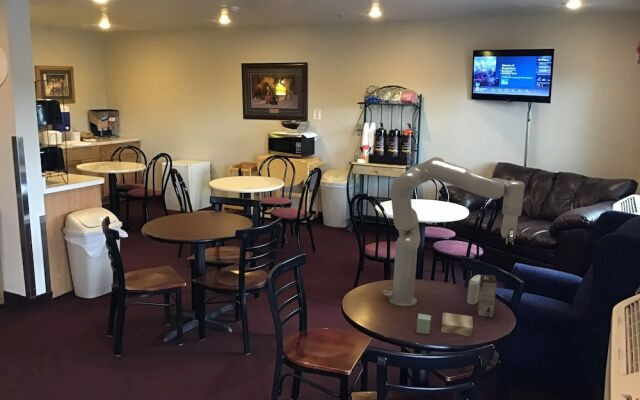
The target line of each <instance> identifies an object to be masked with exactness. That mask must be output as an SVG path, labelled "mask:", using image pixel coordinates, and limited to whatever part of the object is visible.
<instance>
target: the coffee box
mask: <svg viewBox="0 0 640 400" xmlns="http://www.w3.org/2000/svg"><path fill="white" fill-rule="evenodd" d="M480 275H481V276H480V285H479V295H478V303H476V306H477V314H478V316H480V317H487V316H489V317H488V318H493V317H494V309H495V301H496V293H497V283H498V282H497V278H496V275H494V274H493V275H492V274H480Z"/></svg>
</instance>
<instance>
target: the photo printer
mask: <svg viewBox="0 0 640 400" xmlns="http://www.w3.org/2000/svg"><path fill="white" fill-rule="evenodd" d="M480 276H481V274H477V275H474V276H473V277H472V278H471V279H469V282H468V288H467V295H466V296H467V298H466V303H467V304H468V305H471V306H473V305H477V304H478V295H479V285H480Z"/></svg>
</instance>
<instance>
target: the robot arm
mask: <svg viewBox="0 0 640 400" xmlns="http://www.w3.org/2000/svg"><path fill="white" fill-rule="evenodd" d="M430 180H436V181H439V182H442V183H445V184H449V185H451V186H454V187H458V188H460V189H462V190H464V191H467V192H470V193H473V194H475V195H477V196H481V197H484V198H487V199H491V200H498V199H501V198H502V197H503V201H502V209H501V210H502V211H501V214H503V217H502V218H503V219H502V224H501V230H500V234H501V237H502V244H501V247H502V248H504V251H503V253H504V254H510V255H511V254H513V250H514V239H516V234H517V227H518V221H519V220H518V219H519V217H520V216H521V215H522V210H523V202H524V196H525V195H524V194H525V186H526V185H525V183H524V182H523V181H522V180H521V181H520V180H516V179H515V180H508V179H503V178H500V177H499V178H497V177H492V178H487V177H483V176H480V175H478V174H476V173H474V172H472V170H470V169H468V168H466V167H464V166H460V165H457V164H455V163H451V162H447V161H445V160H444V159H443V158H441V157H437V156H434V157H432V158H429V159H428V160H426V161H423V162H421V163H419V164H416V165H415V166H412V167H411V168H408V169H407V170H406V171H404V172H402V174H400V175H399V176H398V177H397V178H396V179H395V180H394V181H393V182H392V184H391V188H390V200H391V208H392V219H393V225H394V227H395V228H396V229H397V231H398V234H399V236H398V238H397V240H396V241H395V244H394V245H395V246H394V269H393V270H394V271H393V281H392V289H391V290H387V289H386V290H385V289H383V290H382V295H384V296H385V297H388V302H389V303H390V304H392V305H394V306H398V307H405V308H406V307H413V306H415V305H417V302H418V300H417V299H416V297H414V296H415V295H414V294H415V283H416V272H417V271H416V270H417V260H418V259H417V256H418V255H417V254H418V249H419V246H420V243H421V233H420V225H419V216H418V213H417V211H416V210H415V209H414V208H413V206H412V198H411V192H412V191H413V190H415V189H417V188H418V187H419V186H420V185H423V184H424V183H427V182H429V181H430Z"/></svg>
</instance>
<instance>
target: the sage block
mask: <svg viewBox="0 0 640 400" xmlns="http://www.w3.org/2000/svg"><path fill="white" fill-rule="evenodd" d="M417 315H418V316H417V322H416V332H415V333H416V334H417V333H419V334H425V335H430V330H431V323H432V322H431V321H432V319H431V318H432V315H429V314H422V313H417Z"/></svg>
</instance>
